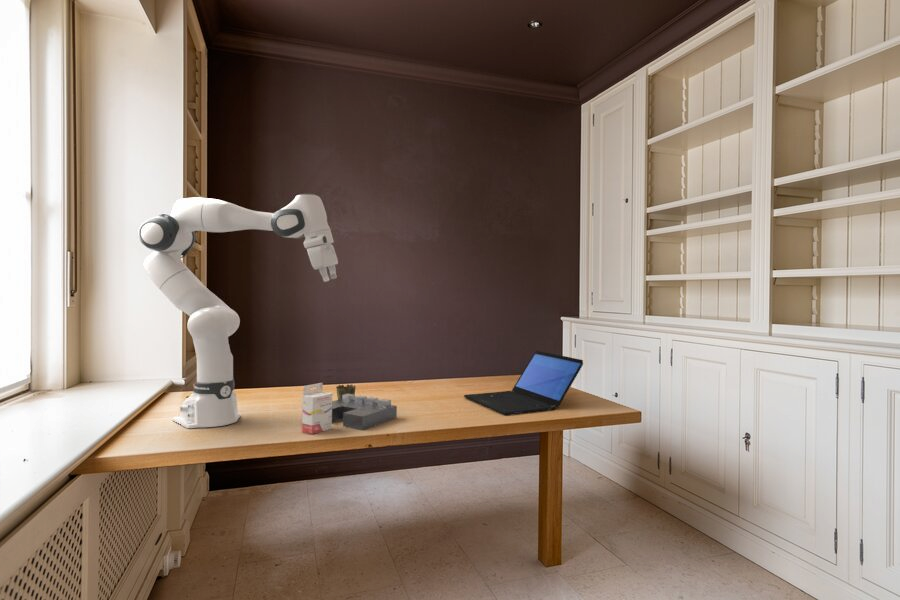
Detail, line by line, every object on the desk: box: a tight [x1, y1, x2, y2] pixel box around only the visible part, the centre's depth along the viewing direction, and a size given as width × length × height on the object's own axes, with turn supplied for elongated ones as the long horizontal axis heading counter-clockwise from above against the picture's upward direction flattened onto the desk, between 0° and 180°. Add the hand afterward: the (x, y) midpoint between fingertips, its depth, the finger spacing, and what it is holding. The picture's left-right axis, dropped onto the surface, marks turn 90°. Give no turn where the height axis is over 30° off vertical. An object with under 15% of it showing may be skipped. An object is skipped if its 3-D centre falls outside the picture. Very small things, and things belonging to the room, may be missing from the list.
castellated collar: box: [332, 394, 398, 431], centre depth 170 cm, size 24×18×6 cm
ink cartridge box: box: [301, 382, 333, 435], centre depth 155 cm, size 9×5×15 cm, turn 149°
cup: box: [335, 383, 357, 400], centre depth 189 cm, size 8×7×8 cm
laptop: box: [463, 350, 584, 416], centre depth 199 cm, size 33×38×19 cm
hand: (330, 279), depth 166 cm, fingers open, 8 cm apart
